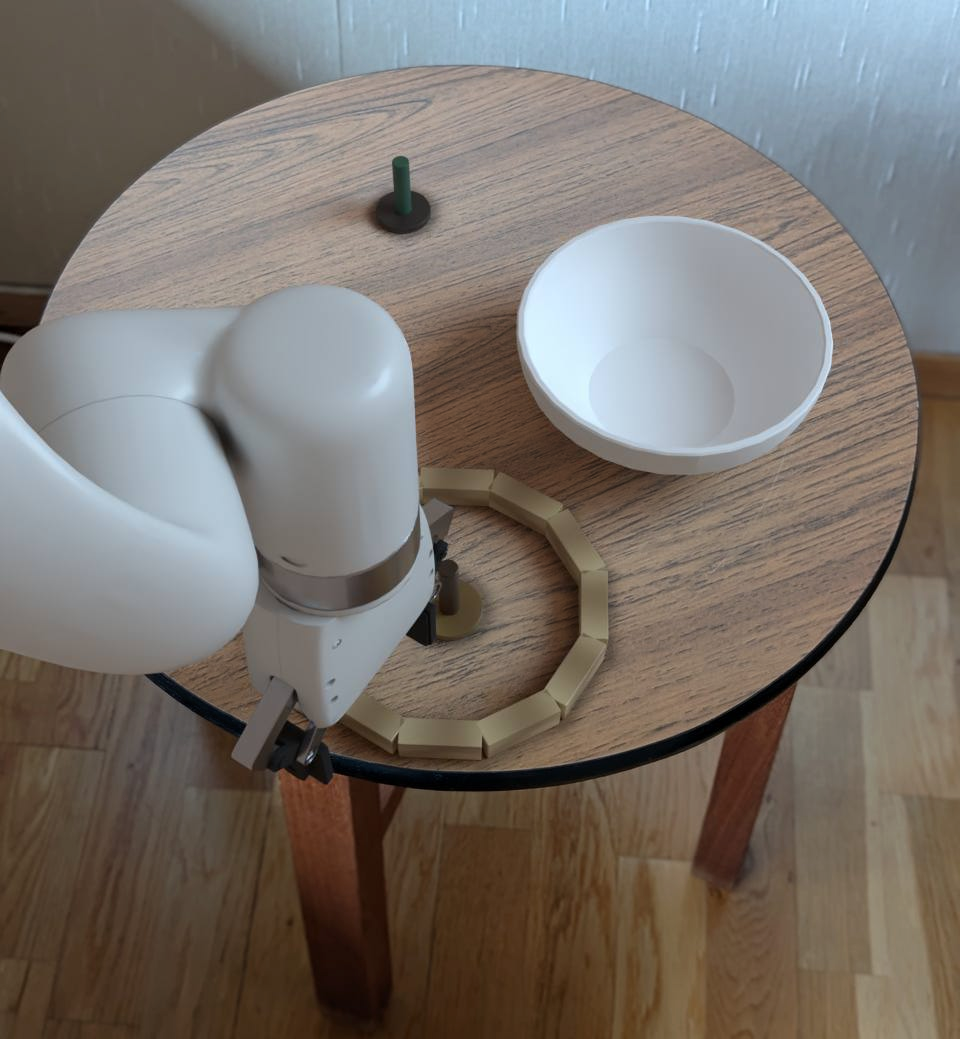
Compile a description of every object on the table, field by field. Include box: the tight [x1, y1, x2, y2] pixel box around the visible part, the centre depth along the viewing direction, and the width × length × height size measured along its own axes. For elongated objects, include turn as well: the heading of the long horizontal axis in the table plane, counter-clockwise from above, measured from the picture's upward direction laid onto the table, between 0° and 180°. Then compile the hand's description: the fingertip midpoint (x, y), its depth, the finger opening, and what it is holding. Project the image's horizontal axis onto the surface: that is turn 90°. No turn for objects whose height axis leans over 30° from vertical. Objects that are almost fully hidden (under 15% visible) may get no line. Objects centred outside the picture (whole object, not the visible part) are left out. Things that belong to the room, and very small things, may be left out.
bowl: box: [516, 215, 834, 476], centre depth 85 cm, size 20×20×7 cm
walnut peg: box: [431, 558, 484, 641], centre depth 78 cm, size 4×4×5 cm
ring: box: [337, 466, 609, 761], centre depth 79 cm, size 19×19×2 cm
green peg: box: [375, 155, 432, 234], centre depth 96 cm, size 4×4×5 cm
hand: (359, 696), depth 73 cm, fingers open, 9 cm apart
